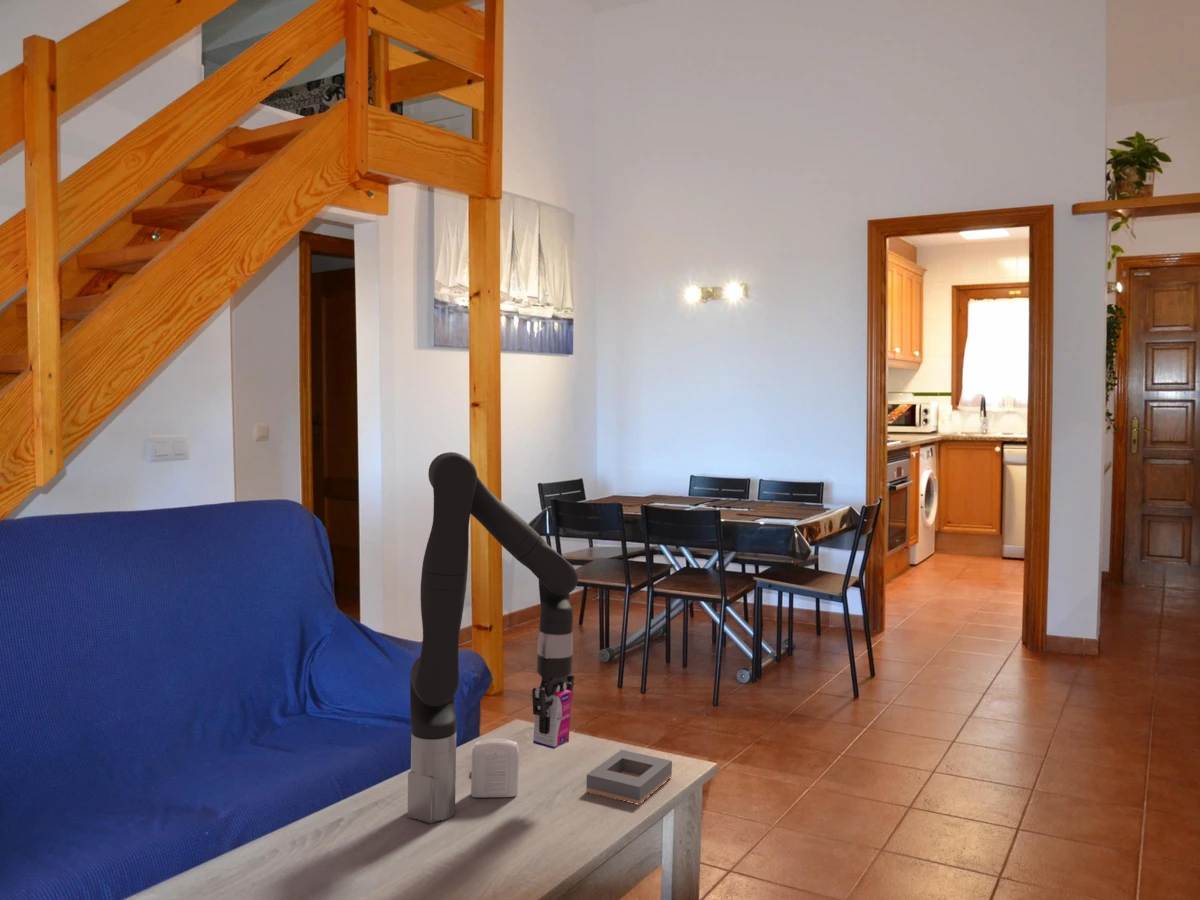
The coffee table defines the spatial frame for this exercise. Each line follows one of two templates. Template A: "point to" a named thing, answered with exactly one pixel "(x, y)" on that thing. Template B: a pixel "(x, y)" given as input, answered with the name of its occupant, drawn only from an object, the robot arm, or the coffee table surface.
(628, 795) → the plate
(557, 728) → the supplement box
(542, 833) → the coffee table surface
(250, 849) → the coffee table surface
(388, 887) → the coffee table surface
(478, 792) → the photo printer
